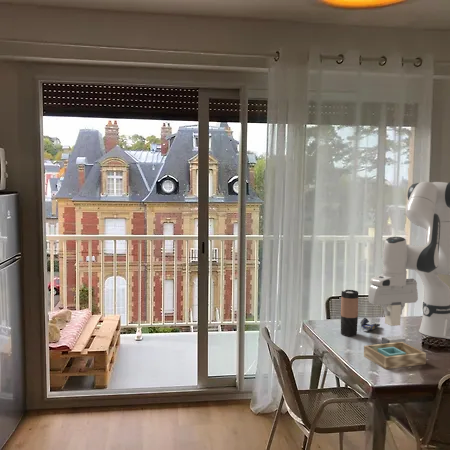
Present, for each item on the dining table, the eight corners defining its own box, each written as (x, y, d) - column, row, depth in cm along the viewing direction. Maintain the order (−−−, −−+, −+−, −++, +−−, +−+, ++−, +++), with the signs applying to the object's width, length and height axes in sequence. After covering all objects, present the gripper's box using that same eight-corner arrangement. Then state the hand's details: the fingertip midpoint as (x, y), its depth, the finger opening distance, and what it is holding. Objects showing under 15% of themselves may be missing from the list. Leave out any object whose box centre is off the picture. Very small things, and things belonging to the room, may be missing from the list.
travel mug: (357, 337, 211) (359, 293, 209) (340, 336, 212) (341, 292, 211) (356, 332, 218) (357, 290, 217) (339, 331, 220) (341, 289, 218)
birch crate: (401, 351, 192) (402, 341, 192) (425, 364, 179) (426, 353, 178) (363, 356, 187) (364, 345, 186) (385, 369, 173) (385, 357, 173)
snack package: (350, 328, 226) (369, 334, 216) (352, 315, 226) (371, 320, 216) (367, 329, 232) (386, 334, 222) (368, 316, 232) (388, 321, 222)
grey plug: (399, 344, 201) (399, 335, 201) (405, 347, 197) (405, 338, 197) (381, 346, 198) (381, 337, 198) (387, 349, 195) (387, 340, 194)
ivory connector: (393, 322, 182) (394, 299, 182) (400, 325, 179) (401, 302, 178) (384, 323, 181) (385, 300, 181) (391, 326, 177) (392, 302, 177)
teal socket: (393, 355, 186) (393, 346, 185) (405, 361, 179) (406, 353, 178) (377, 357, 183) (377, 348, 183) (389, 363, 176) (389, 354, 176)
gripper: (411, 276, 185) (409, 311, 186) (366, 279, 179) (365, 314, 180) (422, 279, 179) (420, 315, 180) (376, 282, 173) (375, 319, 174)
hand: (392, 314), depth 180 cm, fingers closed on ivory connector, 4 cm apart
